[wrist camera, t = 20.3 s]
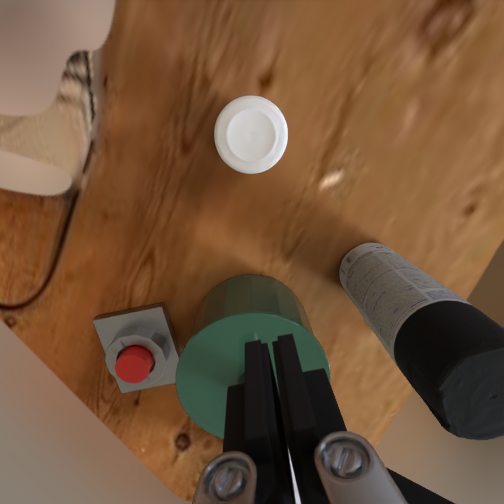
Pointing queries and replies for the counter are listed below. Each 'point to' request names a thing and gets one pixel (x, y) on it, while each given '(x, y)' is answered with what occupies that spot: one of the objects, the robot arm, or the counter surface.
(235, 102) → the sprinkles bottle
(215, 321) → the pot lid
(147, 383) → the grey mounting plate
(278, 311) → the green pot
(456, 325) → the spray can
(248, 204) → the counter surface
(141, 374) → the button
